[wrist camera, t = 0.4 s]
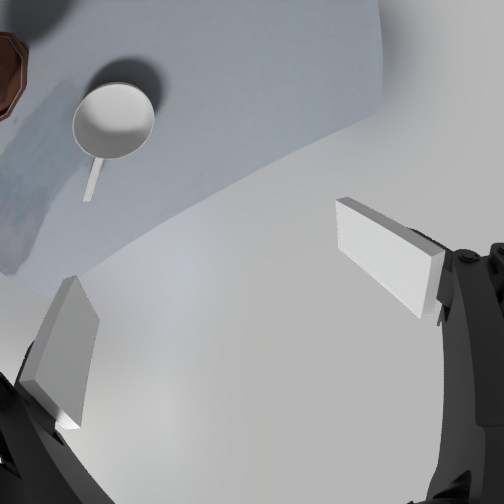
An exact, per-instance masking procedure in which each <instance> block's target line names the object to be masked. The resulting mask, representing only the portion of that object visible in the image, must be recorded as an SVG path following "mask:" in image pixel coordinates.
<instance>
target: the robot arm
mask: <svg viewBox="0 0 504 504" xmlns="http://www.w3.org/2000/svg"><path fill="white" fill-rule="evenodd" d="M335 202H336V214H337V230H338V248H339V249H340V250H341V251H342V252H343V253H345V254H346V255H347V256H348V257H349V258H351V259H352V260H353V261H354V262H355V263H357V264H358V265H359V266H360V267H361V268H363V269H364V270H365V271H366V272H367V273H368V274H370V275H371V276H372V277H373V278H374V279H376V280H377V281H378V282H379V283H380V284H381V285H382V286H384V287H385V288H386V289H387V290H388V291H389V292H391V293H392V294H393V295H394V296H395V297H396V298H397V299H398V300H399V301H401V302H402V303H403V304H404V305H405V306H406V307H407V308H408V309H410V310H411V311H412V312H413V313H414V314H415V315H416V316H417V317H418V318H419V319H422V318H424V317H425V316H427V315H429V314H431V313H432V312H434V308H435V304H436V299H437V300H438V301H440V302H441V303H442V307H441V311H440V315H439V318H438V322H437V326H439V325H440V322H441V321H442V334H443V351H444V404H443V405H444V406H443V422H442V433H441V443H440V452H439V459H438V465H437V468H436V471H435V473H434V475H433V477H432V479H431V482H430V485H429V488H428V493H427V497H426V501H422V502H419V503H415V504H504V243H494V244H492V245H491V249H490V254H489V255H488V256H483V257H481V256H480V255H478V254H477V253H476V252H474V251H471V250H466V249H459V250H456V251H454V252H453V251H451V250H450V249H448V248H446V247H445V246H443V245H441V244H440V243H438V242H436V241H435V240H432V239H431V238H430V237H428V236H425V235H424V234H422V233H421V232H419V231H417V230H414V229H410V228H407V227H404V226H403V225H401V224H399V223H397V222H395V221H394V220H392V219H390V218H388V217H386V216H384V215H383V214H380V213H378V212H377V211H375V210H373V209H371V208H369V207H367V206H365V205H363V204H361V203H359V202H357V201H355V200H353V199H351V198H349V197H345V198H341V199H337V200H335ZM99 321H100V319H99V318H98V316H97V314H96V312H95V311H94V309H93V307H92V305H91V303H90V301H89V299H88V297H87V295H86V293H85V291H84V290H83V288H82V286H81V284H80V282H79V279H78V277H77V275H75V276H72V277H69V278H66V279H64V280H63V282H62V284H61V286H60V288H59V290H58V292H57V294H56V296H55V298H54V300H53V302H52V304H51V306H50V308H49V310H48V312H47V314H46V316H45V318H44V321H43V323H42V325H41V327H40V329H39V332H38V334H37V336H36V339H35V340H34V341H33V342H32V344H31V345H30V347H29V348H28V350H27V352H26V355H25V359H24V360H23V363H22V366H21V368H20V370H19V373H18V376H17V378H16V382H15V384H14V387H13V386H12V384H11V383H10V382H9V381H8V380H7V379H6V377H5V376H4V375H3V374H2V373H1V372H0V458H1V463H0V504H115V503H114V502H113V501H112V500H111V499H110V497H108V495H107V494H106V493H105V492H104V491H103V490H102V488H101V487H100V486H99V485H98V484H97V483H96V481H95V480H94V479H93V478H92V476H91V475H90V474H89V473H88V471H87V470H86V469H85V468H84V466H83V465H82V464H81V462H80V461H79V460H78V458H77V457H76V456H75V454H74V453H73V452H72V450H71V449H70V447H69V446H68V445H67V443H66V442H65V440H64V439H63V437H62V436H61V434H60V433H59V432H58V431H57V430H56V429H55V422H56V421H57V422H58V423H59V424H60V425H61V426H63V428H65V429H74V428H81V421H82V412H83V405H84V397H85V391H86V384H87V379H88V373H89V368H90V363H91V357H92V353H93V348H94V343H95V339H96V334H97V329H98V325H99ZM407 504H414V503H413V501H411V502H409V503H407Z"/></svg>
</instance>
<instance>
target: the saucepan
mask: <svg viewBox="0 0 504 504" xmlns="http://www.w3.org/2000/svg"><path fill="white" fill-rule="evenodd" d="M153 125H154V111H153V107H152V104H151V102H150V100H149V99H148V97H147V96H146V94H145V93H144V92H143V91H142V90H141V89H139V88H137V87H136V86H134V85H132V84H129V83H124V82H111V83H107V84H103V85H101V86H99V87H97V88H95V89H94V90H92V91H91V92H90V93H88V94H87V96H86V97H85V98H84V99H83V100H82V101H81V103H80V104H79V106H78V108H77V110H76V112H75V115H74V119H73V134H74V137H75V140H76V142H77V143H78V145H79V146H80V147H81V149H82V150H83V151H85V152H86V153H87V154H89V155H91V156H93V157H95V160H94V163H93V166H92V169H91V173H90V176H89V179H88V183H87V186H86V190H85V194H84V197H83V199H84V201H87V202H89V201H91V199H92V195H93V192H94V189H95V185H96V182H97V179H98V176H99V173H100V170H101V167H102V164H103V161H104V159H106V160H110V159H118V158H122V157H125V156H127V155H130V154H132V153H133V152H135V151H136V150H138V149H139V148H140V147H141V146H142V145H143V144H144V143H145V142H146V140H147V139H148V137H149V136H150V134H151V131H152V129H153Z"/></svg>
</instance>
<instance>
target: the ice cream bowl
mask: <svg viewBox="0 0 504 504" xmlns="http://www.w3.org/2000/svg"><path fill="white" fill-rule="evenodd" d="M27 66H28V50H27V48H26V47H25V45H24V44H23V43H22V42H19V40H18V39H17V37H16V36H15V34H13V33H7V32H0V122H1V121H3V120H4V119H6V118H8V117H9V116H10V114H11V113H12V111H13V109H14V107H15V105H16V104H17V102H18V100H19V99H20V97H21V95H22V93H23V92H24V90H25V88H26V85H27Z"/></svg>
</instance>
